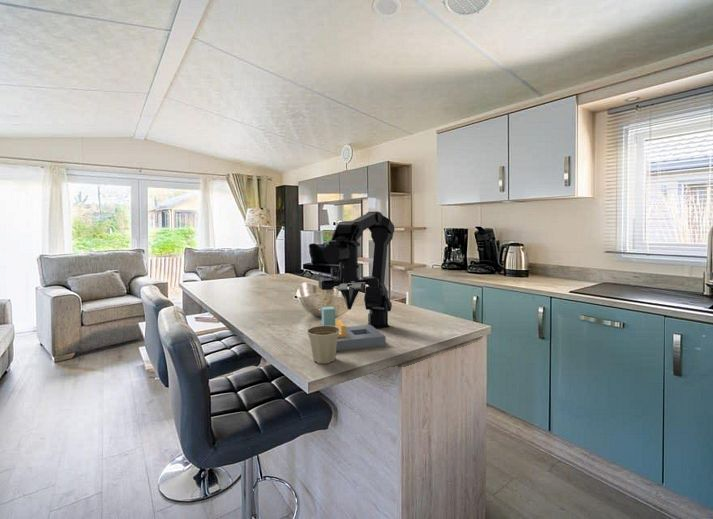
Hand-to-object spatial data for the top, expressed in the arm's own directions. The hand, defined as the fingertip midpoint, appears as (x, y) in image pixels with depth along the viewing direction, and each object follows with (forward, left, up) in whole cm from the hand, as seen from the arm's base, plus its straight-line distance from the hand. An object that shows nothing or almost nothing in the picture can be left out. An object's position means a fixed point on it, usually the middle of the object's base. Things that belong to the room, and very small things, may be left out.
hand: (349, 309), depth 117 cm
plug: (+4, -12, -11) cm, 17 cm away
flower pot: (+11, +13, -11) cm, 20 cm away
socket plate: (0, 0, -11) cm, 11 cm away
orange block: (+6, 0, -8) cm, 10 cm away
